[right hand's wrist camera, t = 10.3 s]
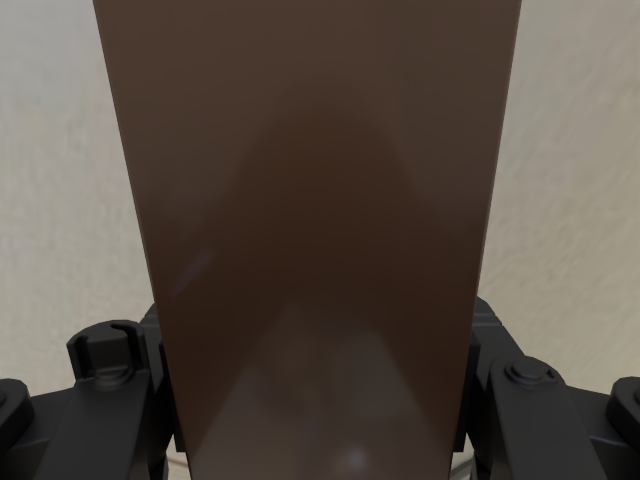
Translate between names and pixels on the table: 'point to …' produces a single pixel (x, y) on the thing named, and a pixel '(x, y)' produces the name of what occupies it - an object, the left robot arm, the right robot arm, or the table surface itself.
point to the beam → (313, 220)
